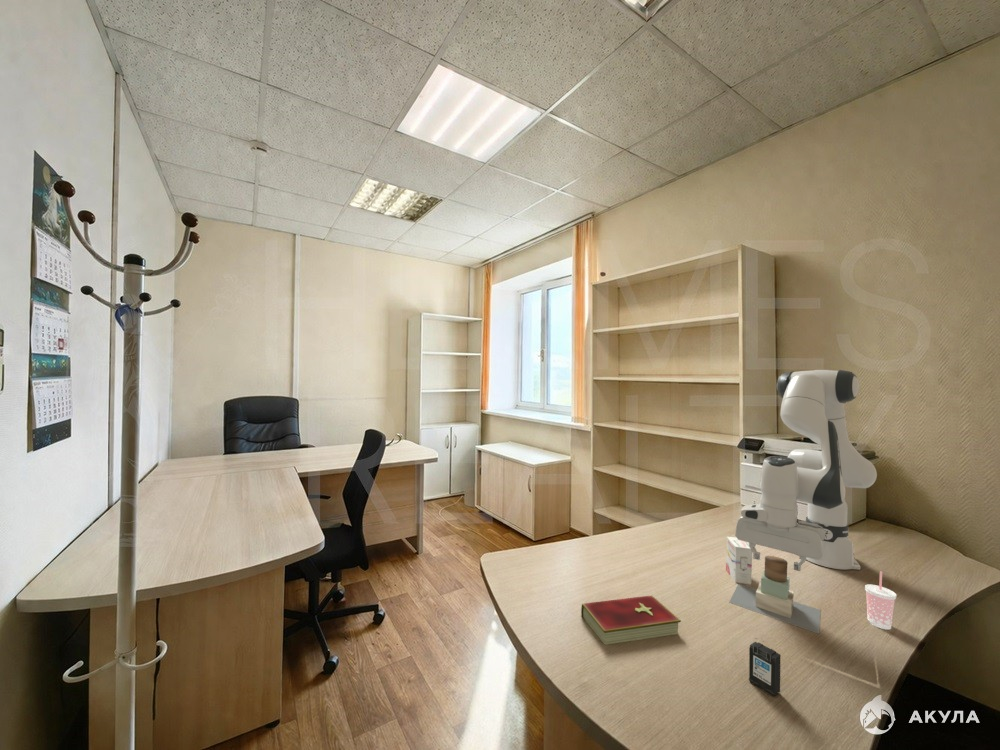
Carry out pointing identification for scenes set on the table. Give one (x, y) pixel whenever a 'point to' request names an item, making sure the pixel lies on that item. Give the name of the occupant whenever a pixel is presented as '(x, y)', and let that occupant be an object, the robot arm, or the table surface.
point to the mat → (800, 614)
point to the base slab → (775, 603)
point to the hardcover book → (629, 619)
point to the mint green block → (775, 587)
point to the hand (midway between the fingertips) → (776, 564)
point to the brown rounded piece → (775, 569)
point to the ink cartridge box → (739, 560)
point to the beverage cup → (880, 605)
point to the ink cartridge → (764, 668)
